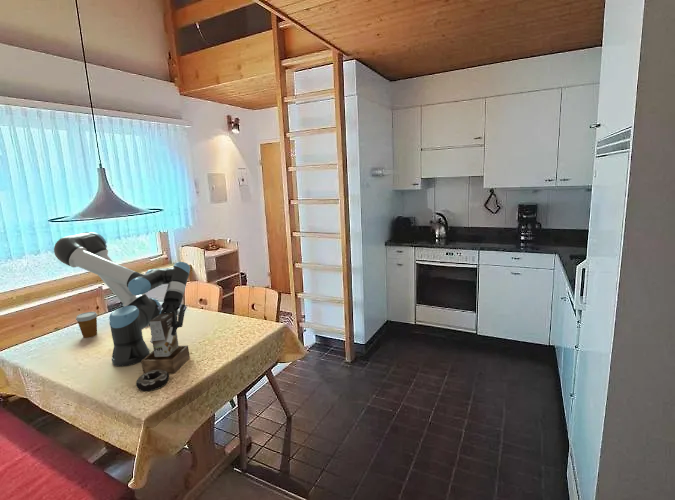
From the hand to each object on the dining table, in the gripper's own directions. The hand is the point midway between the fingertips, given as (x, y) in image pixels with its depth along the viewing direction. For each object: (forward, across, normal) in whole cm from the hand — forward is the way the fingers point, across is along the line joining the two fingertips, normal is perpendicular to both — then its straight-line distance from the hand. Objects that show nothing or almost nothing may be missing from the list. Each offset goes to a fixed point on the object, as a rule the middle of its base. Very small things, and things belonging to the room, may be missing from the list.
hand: (160, 342), depth 153 cm
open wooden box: (+6, +1, -11) cm, 13 cm away
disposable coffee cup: (-17, +62, -34) cm, 73 cm away
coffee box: (+2, 0, -7) cm, 7 cm away
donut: (+17, -1, -1) cm, 17 cm away
